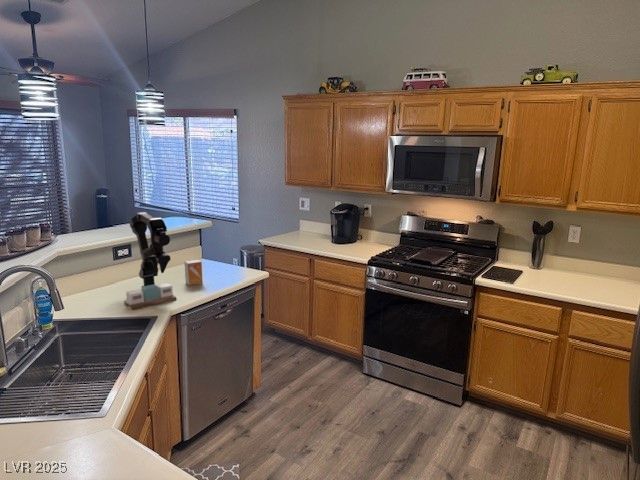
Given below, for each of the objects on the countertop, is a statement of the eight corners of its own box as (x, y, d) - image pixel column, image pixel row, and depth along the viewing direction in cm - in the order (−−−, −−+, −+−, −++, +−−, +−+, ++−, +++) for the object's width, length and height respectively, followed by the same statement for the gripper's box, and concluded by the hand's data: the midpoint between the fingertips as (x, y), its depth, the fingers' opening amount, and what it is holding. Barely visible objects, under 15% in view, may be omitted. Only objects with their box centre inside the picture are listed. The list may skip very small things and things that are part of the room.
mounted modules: (126, 301, 219) (126, 291, 218) (167, 292, 233) (167, 283, 232) (131, 304, 215) (130, 294, 214) (173, 295, 229) (172, 285, 228)
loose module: (142, 298, 224) (141, 286, 223) (154, 295, 228) (153, 284, 227) (146, 300, 220) (145, 289, 219) (158, 297, 224) (157, 286, 223)
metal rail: (126, 302, 219) (125, 301, 219) (168, 292, 234) (168, 291, 234) (130, 305, 215) (130, 304, 215) (173, 295, 229) (173, 294, 229)
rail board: (124, 303, 222) (123, 301, 221) (166, 294, 236) (166, 291, 236) (133, 310, 213) (132, 307, 213) (176, 299, 228) (176, 297, 227)
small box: (189, 285, 250) (187, 263, 248) (185, 283, 256) (184, 261, 253) (203, 283, 255) (201, 261, 252) (199, 280, 260) (198, 259, 257)
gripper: (134, 241, 232) (137, 269, 235) (148, 247, 218) (150, 278, 222) (155, 238, 239) (157, 266, 242) (170, 244, 225) (171, 274, 229)
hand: (159, 271), depth 234 cm, fingers open, 9 cm apart
